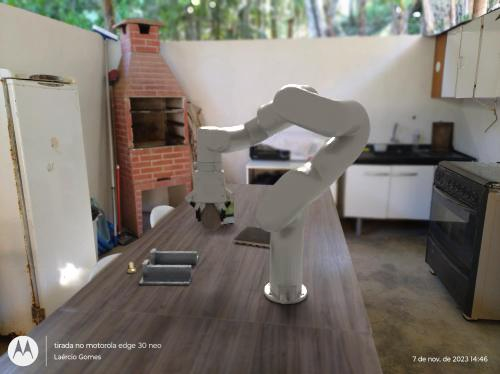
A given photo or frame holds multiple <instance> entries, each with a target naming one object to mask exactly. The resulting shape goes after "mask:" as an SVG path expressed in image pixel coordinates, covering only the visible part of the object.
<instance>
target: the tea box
mask: <svg viewBox="0 0 500 374" xmlns="http://www.w3.org/2000/svg"><path fill="white" fill-rule="evenodd" d="M226 189H227V190H228V191H229V192H231V193H232V194H233V195H234V196H235V193H234V192H233V191H231V190H230V189H229V188H228V187H226ZM229 199H230V197H228V196H227V195H226V201H225V203H226V202H227V201H228V200H229ZM206 204H207V203H204V207H205V206H206ZM215 205H216V206H217V207H218V209H219V210H220V212H221V208H222V207H221V205H220V203H215ZM226 223H235V200H234V201H233V202H232V203H231V205H230V206H229V207H228V208H227V209H226V219H224V221H223V222H221V224H226Z"/></svg>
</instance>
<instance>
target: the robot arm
mask: <svg viewBox="0 0 500 374" xmlns="http://www.w3.org/2000/svg"><path fill="white" fill-rule="evenodd" d="M369 117H370V116H369V114H368V111H367V109H366V108H365V107H364V106H363V105H362V104H361V103H360V102H358V101H357V100H353V99H348V98H347V99H345V98H344V99H333V98H330V97H327V96H324V95H320V94H319V92H318V91H317V90H316V89H315V88H314V87H313V86H310V85H307V84H287V85H284V86H283V87H281V88H280V89H278V91H277V92H276V93H275V95H274V97H273V99H272V100H269V101H268V102H266V103H264V104H262V105H260V106H259V107H258V108H257V111H256V116H255V117H253V118H252V119H250V120H248V121H246V122H244V123H242V124H239V125H234V126H233V125H232V126H227V127H225V126H224V127H218V126H215V125H214V126H213V125H207V126H205V125H203V126H199V127H198V128H197V130H196V155H197V156H196V159H197V161H195V162H192V168H196V170H195V172H194V176H193V190H192V191H190V192H189V193H188V194H187V195H185V197H184V199H185V200H186V202H187V203H189V205H190V206H191V207H192V208H193V209H194V211H195V220H196V219H197V223H201V222H200V215H201V211H202V209H201V204H205V203H220V205H221V207H222V208H221V222H223V221H224V219H226V209H227V208H228V207H229V206H230V205H231V203H232V202H233V201H234V202H235V200H236V198H237V197H236V196H235V194H234V195H233V194H232V193H231V192H229V191H228V190H227V189H228V188H227V181H226V175H225V171H224V169H223V168H222V167H223V164H222V163H223V160H222V159H223V158H222V156H223V155H222V154H224V155H225V154H226V155H227V154H230V153H234V152H239V151H245V150H246V149H249V148H251V147H254V146H256V145H258V144H260V143H262V142H264V141H266V140H268V139H269V138H271V137H273V136H275V135H276V134H278V133H280V132H283V131H284V130H286V129H288V128H291V127H292V126H297V127H298V128H302V129H304V130H307V131H309V132H312V133H314V134H317V135H320V136H322V137H326V138H329V140H327V141H326V142H325V143H324V144H323V145H322V146H321V147H320V148H319V149H318V150H317V152H316V153H315V154H314V155H313V156H311V158H310V159H308V161H307V162H305V163H304V164H302V165H299V166H297V167H294V168H292V169H290V170H288V171H287V172H285V173H284V174H283V175H281V177H279V179H278V180H277V181H276V182H275V183H274V184H273V185H272V187H271V188H270V189H269V190H268V191H267V192H266V193H265V194H264V195H263V196H262V197H261V199H260V200H258V203H257V205H256V206H255V210H254V219H255V221H256V224H257V225H258V228H262V229H263V230H265V231H267V232H271V233H270V247H269V282H268V283H267V284H266V285H265V286H264V288H263V290H264V291H263V293H264V295H265V297H266V298H267V299H268V300H270V301H272V302H274V303H278V304H282V305H290V304H296V303H300V302H302V301H303V300H305V299H306V298H307V295H308V290H307V289H308V288H307V287H306V286H305V285H304V284H303V268H304V267H303V265H304V264H303V263H304V262H303V260H304V259H303V258H304V241H305V238H304V235H305V227H306V221H307V214H308V205H310V204H311V203H312V202H314V201H316V200H317V199H319V198H320V197H322V196H323V195H324V194H325V193H326V191H328V190H329V188H331V186H332V185H333V184H334V183H335V182H336V181H337V180H339V178H340V177H341V176H342V175H343V174H344V173H345V172H346V171H347V170H348V169H349V168H350V167H351V165H352V164H354V163H355V162H356V161H357V159H358V158H359V157H360V155H361V154H362V153H363V151H364V150H365V148H366V147H367V144H368V142H369V139H370V133H371V121H370V118H369ZM226 188H227V189H226ZM226 195H227V196H228V197H230V199H229V200H228V201H227V202H226V203H225V201H226ZM192 197H193V199H192Z"/></svg>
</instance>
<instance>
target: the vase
mask: <svg viewBox="0 0 500 374" xmlns="http://www.w3.org/2000/svg"><path fill="white" fill-rule="evenodd" d="M199 223H200V224H201V226H202V228H203V229H204V230H205V231H215V230H218V229H219V228H220V226H221V225H220V224H221V212H220V210H219V209H218V207H217V206H216V205H215V203H207V204H206V206H205V205H204V206H203V208H202V209H201V215H200V222H199Z"/></svg>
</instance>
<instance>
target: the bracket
mask: <svg viewBox="0 0 500 374" xmlns="http://www.w3.org/2000/svg"><path fill="white" fill-rule="evenodd" d="M199 258H200V256H199V255H198V251H196V250H195V251H194V250H192V251H191V250H189V251H188V250H187V251H185V250H184V251H183V250H177V251H175V250H173V251H172V250H170V251H169V250H167V251H165V250H161V251H160V250H158V249H157V248H152V249H151V250H150V252H149V259H144V260H143V262H142V263H141V269H142V270H141V271H142V278H141V279H140V281H139V282H138V283H139V284H138V285H143V286H144V285H145V286H147V285H148V286H149V285H152V286H153V285H154V286H156V285H157V286H160V285H161V286H164V285H165V286H169V285H170V286H171V285H172V286H185V285H186V286H189V285H190V283H191V281H192V278H193V270H192V265H191V264H193V265H194V264H195V265H197V264H198V260H199Z"/></svg>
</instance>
